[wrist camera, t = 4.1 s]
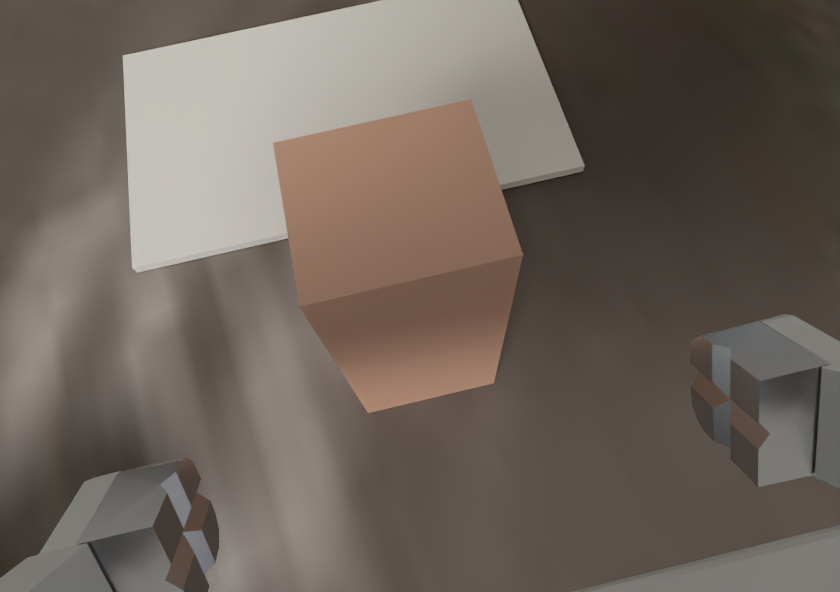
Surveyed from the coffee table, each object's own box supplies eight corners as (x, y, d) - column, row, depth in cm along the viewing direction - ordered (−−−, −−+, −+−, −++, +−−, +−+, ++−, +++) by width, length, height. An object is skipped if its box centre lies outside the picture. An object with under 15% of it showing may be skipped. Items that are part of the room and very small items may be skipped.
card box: (368, 413, 21) (299, 306, 12) (347, 308, 23) (272, 142, 13) (493, 383, 21) (522, 254, 12) (465, 281, 23) (471, 99, 14)
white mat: (137, 272, 24) (132, 268, 23) (127, 62, 28) (123, 55, 27) (582, 171, 24) (584, 165, 24) (506, -19, 29) (507, -27, 28)
